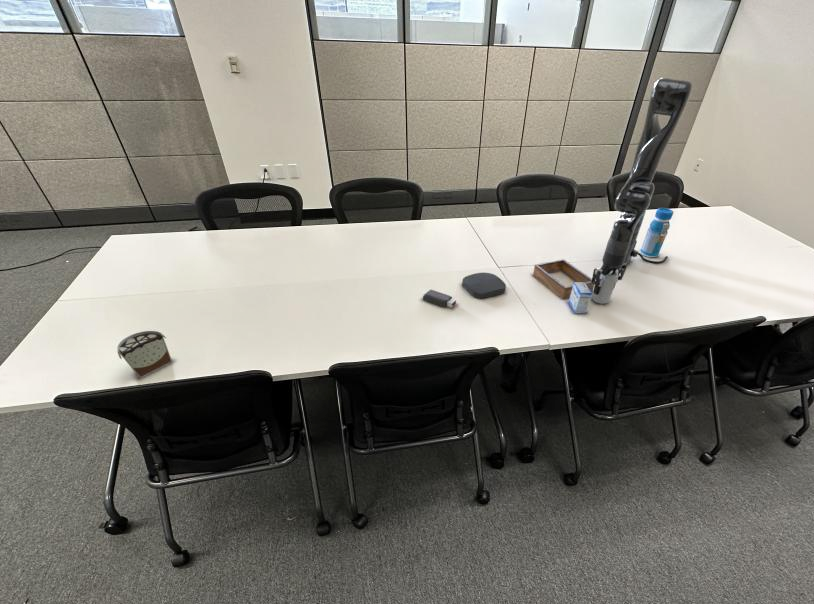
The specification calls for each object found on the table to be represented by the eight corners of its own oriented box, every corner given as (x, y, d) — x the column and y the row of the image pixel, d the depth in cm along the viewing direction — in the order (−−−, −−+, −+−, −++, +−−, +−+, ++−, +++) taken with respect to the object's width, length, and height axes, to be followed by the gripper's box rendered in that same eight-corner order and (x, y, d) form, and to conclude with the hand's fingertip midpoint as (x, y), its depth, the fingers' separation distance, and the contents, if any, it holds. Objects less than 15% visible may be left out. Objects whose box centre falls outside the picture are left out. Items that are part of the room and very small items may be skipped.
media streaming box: (476, 300, 157) (477, 293, 155) (458, 283, 166) (458, 276, 164) (509, 292, 162) (510, 285, 160) (489, 276, 172) (490, 269, 170)
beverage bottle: (638, 255, 192) (655, 211, 178) (639, 248, 197) (655, 205, 184) (658, 259, 189) (675, 215, 176) (658, 252, 195) (675, 208, 182)
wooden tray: (561, 269, 179) (563, 258, 175) (592, 292, 165) (595, 281, 162) (532, 275, 174) (534, 264, 171) (562, 299, 160) (565, 288, 157)
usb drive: (430, 294, 159) (430, 287, 157) (457, 303, 155) (457, 296, 153) (422, 299, 156) (422, 293, 154) (450, 309, 152) (450, 303, 150)
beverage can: (609, 305, 158) (619, 277, 149) (592, 303, 158) (601, 274, 150) (608, 297, 162) (617, 269, 154) (591, 295, 163) (599, 267, 155)
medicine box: (568, 302, 158) (573, 282, 153) (579, 302, 159) (585, 281, 153) (574, 313, 153) (580, 292, 147) (586, 313, 153) (592, 292, 147)
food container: (166, 351, 128) (151, 324, 121) (177, 359, 125) (163, 332, 119) (124, 372, 120) (106, 344, 113) (135, 381, 118) (117, 353, 111)
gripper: (607, 257, 142) (594, 300, 153) (639, 251, 146) (624, 293, 158) (593, 248, 147) (581, 290, 158) (624, 243, 151) (610, 284, 163)
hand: (603, 291), depth 158 cm, fingers closed on beverage can, 6 cm apart
